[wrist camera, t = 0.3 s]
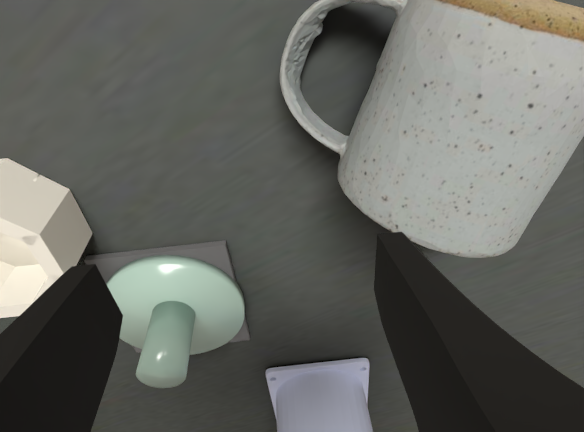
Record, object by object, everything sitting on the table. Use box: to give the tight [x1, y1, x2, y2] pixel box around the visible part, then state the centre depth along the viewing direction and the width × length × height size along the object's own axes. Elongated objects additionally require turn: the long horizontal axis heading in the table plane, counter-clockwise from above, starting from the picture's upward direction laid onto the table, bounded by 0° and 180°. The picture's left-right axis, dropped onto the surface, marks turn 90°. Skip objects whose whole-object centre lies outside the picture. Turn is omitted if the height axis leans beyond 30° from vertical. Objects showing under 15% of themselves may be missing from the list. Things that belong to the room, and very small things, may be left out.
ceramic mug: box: [280, 0, 584, 258], centre depth 14 cm, size 11×8×8 cm
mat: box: [84, 240, 250, 353], centre depth 25 cm, size 9×8×1 cm
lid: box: [106, 255, 245, 388], centre depth 23 cm, size 9×9×5 cm
